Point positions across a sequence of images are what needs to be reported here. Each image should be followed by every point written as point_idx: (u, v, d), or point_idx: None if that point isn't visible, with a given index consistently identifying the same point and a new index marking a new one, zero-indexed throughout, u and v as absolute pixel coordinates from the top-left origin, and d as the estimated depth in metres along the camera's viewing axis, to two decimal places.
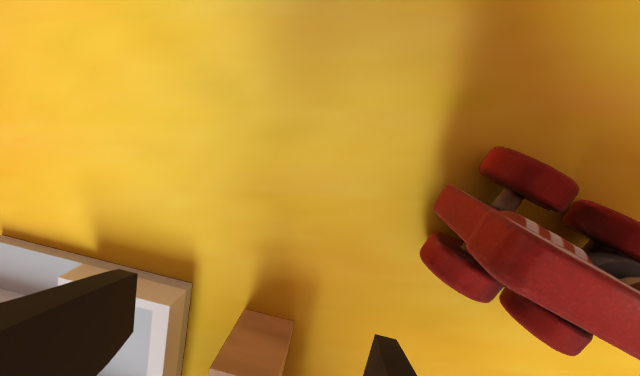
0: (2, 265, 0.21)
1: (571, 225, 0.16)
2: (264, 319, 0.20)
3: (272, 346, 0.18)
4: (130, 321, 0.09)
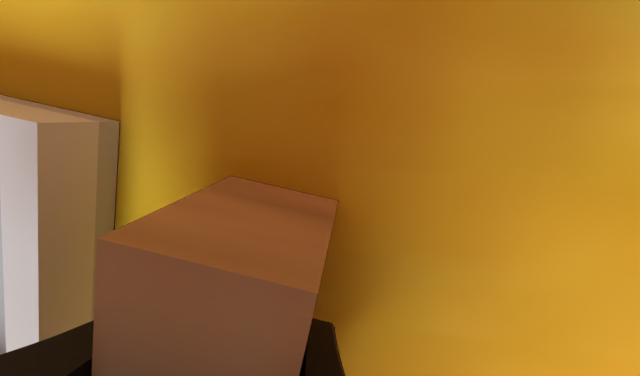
0: None
1: None
2: (271, 191, 0.09)
3: (296, 223, 0.07)
4: None
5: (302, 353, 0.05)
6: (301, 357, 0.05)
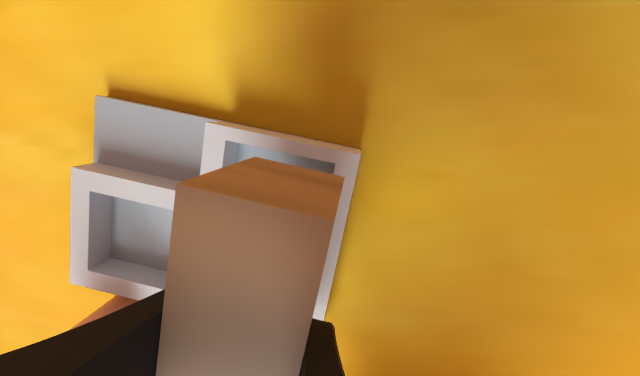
0: (112, 132, 0.17)
1: None
2: (289, 168, 0.11)
3: (313, 186, 0.09)
4: None
5: (322, 266, 0.07)
6: (321, 269, 0.07)
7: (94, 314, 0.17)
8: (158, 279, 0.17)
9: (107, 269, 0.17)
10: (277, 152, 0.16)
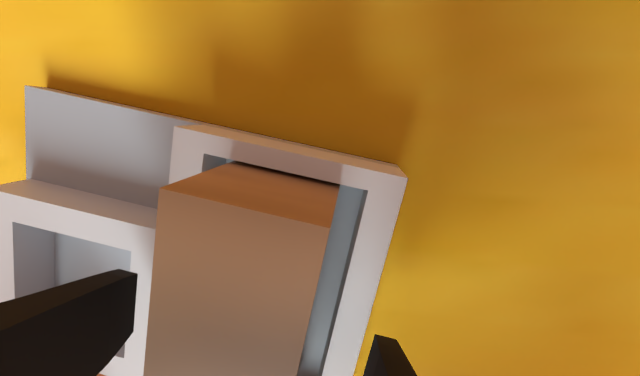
0: (49, 137, 0.12)
1: None
2: None
3: (308, 188, 0.08)
4: (130, 321, 0.09)
5: (317, 277, 0.06)
6: (317, 280, 0.06)
7: None
8: None
9: None
10: None
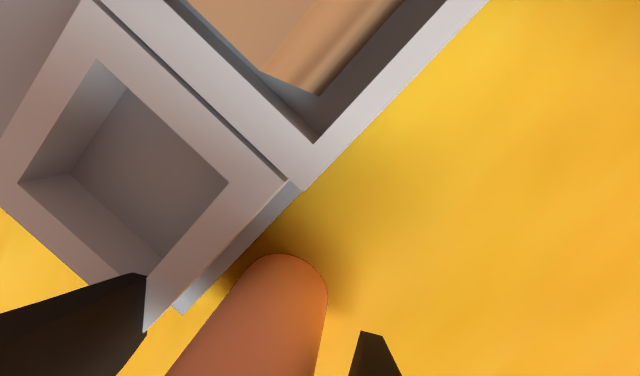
0: None
1: None
2: None
3: None
4: None
5: None
6: None
7: None
8: None
9: None
10: None
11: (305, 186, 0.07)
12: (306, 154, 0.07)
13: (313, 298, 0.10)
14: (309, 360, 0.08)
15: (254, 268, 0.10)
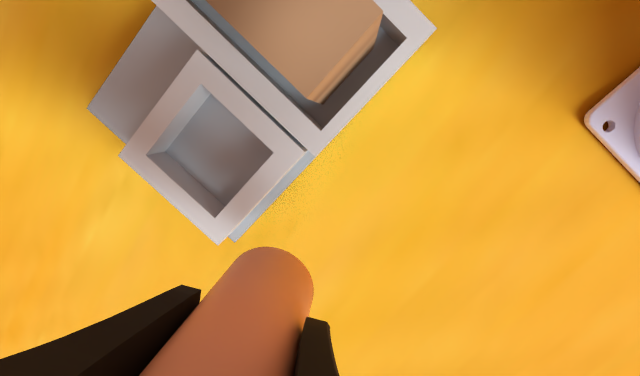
0: (121, 117, 0.16)
1: None
2: None
3: None
4: None
5: None
6: None
7: None
8: None
9: None
10: None
11: (316, 153, 0.14)
12: (317, 136, 0.14)
13: (297, 287, 0.10)
14: (291, 345, 0.08)
15: (239, 261, 0.10)
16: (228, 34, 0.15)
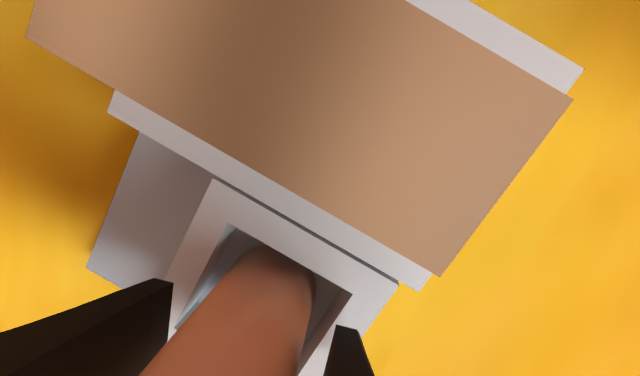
0: (131, 269, 0.12)
1: None
2: None
3: None
4: (165, 330, 0.09)
5: None
6: None
7: None
8: (339, 303, 0.11)
9: (298, 366, 0.11)
10: None
11: (419, 287, 0.09)
12: (415, 263, 0.09)
13: (299, 283, 0.10)
14: (295, 337, 0.08)
15: (243, 258, 0.11)
16: None
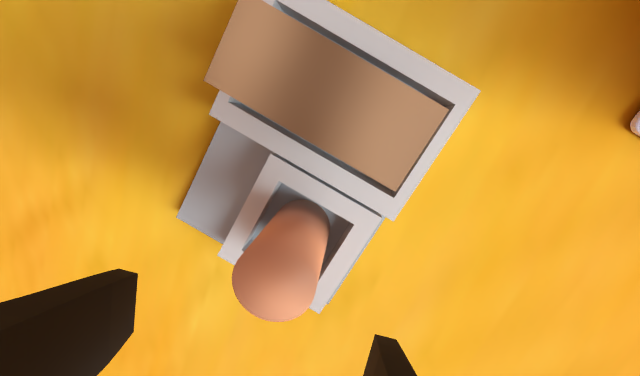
0: (207, 218, 0.19)
1: None
2: None
3: None
4: (130, 321, 0.09)
5: (269, 5, 0.11)
6: (270, 6, 0.11)
7: None
8: (345, 233, 0.17)
9: (319, 276, 0.17)
10: None
11: (394, 218, 0.15)
12: (391, 203, 0.15)
13: (321, 219, 0.16)
14: (322, 241, 0.14)
15: (285, 206, 0.17)
16: None
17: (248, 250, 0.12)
